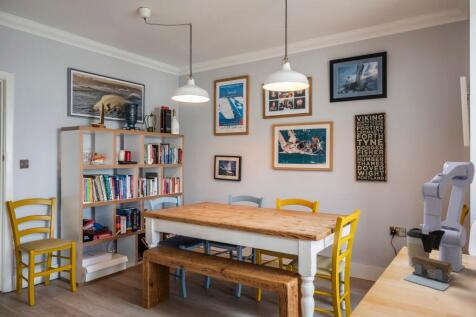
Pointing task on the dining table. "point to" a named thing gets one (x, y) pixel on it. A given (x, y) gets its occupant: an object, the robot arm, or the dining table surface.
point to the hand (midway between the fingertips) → (431, 250)
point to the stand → (430, 274)
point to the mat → (427, 282)
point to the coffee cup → (415, 245)
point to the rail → (432, 264)
